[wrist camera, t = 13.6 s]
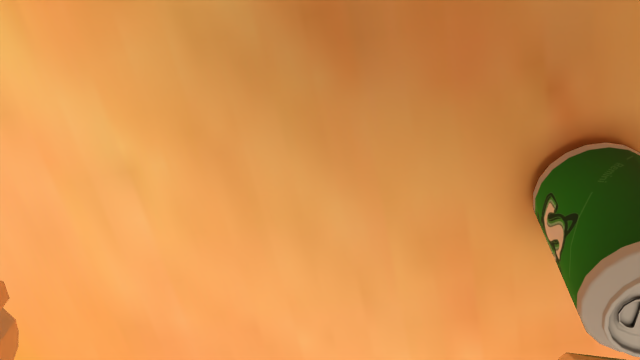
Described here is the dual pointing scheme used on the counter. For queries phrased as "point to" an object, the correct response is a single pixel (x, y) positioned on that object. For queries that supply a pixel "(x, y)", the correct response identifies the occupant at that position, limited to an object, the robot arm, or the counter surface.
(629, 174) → the soda can
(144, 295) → the counter surface
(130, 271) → the counter surface
